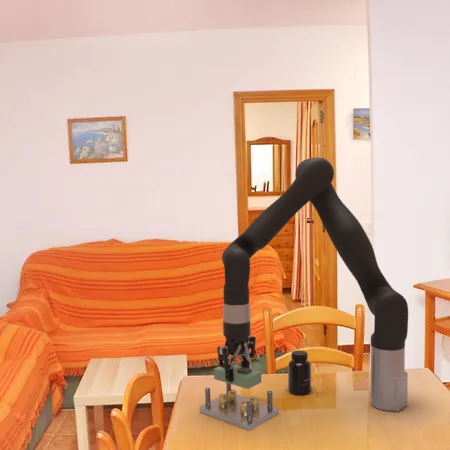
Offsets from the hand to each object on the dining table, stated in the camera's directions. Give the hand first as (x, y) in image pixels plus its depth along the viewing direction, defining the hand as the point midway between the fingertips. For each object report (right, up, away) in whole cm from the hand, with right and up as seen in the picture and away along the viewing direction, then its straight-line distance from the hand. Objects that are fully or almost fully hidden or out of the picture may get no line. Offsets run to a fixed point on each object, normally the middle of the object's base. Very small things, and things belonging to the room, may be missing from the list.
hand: (237, 377), depth 153 cm
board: (0, -1, 0) cm, 1 cm away
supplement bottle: (+19, -8, +15) cm, 26 cm away
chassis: (0, -10, +1) cm, 10 cm away
